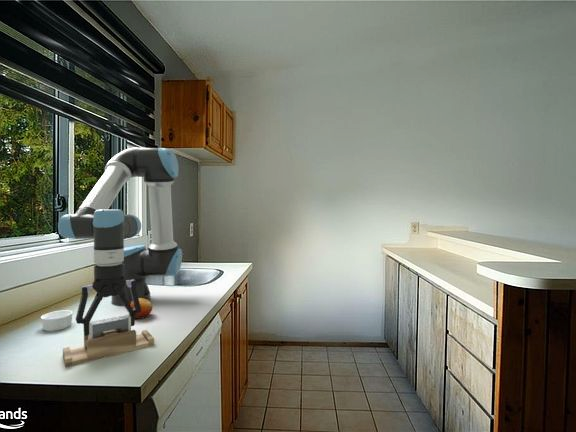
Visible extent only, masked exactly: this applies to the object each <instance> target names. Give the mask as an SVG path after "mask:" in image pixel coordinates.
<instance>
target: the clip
mask: <svg viewBox="0 0 576 432" xmlns="http://www.w3.org/2000/svg"><path fill="white" fill-rule="evenodd" d="M91 322H92V324H93V339H94V338H99V337H101V332H104V331H109V330H114V329H119V333H122V332H126V331H128V317H127V316H126V314H125V315H121V316H116V317H115V316H114V317H110V318H103V319H98V320H93V321H92V320H91Z"/></svg>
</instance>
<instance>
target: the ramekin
mask: <svg viewBox="0 0 576 432" xmlns="http://www.w3.org/2000/svg"><path fill="white" fill-rule="evenodd" d="M40 320H41V326H42V329H43V331H45V330H46V332H53V331H54V332H55V330H56V331H60V330H64V329H67V328H69V327H70V326H71V325H72V321H73V311H72V310H69V309H65V310H64V309H62V310H61V309H60V310H53V311H51V312H48V313H44V314H42V315H41V316H40Z"/></svg>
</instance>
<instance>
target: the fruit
mask: <svg viewBox="0 0 576 432" xmlns="http://www.w3.org/2000/svg"><path fill="white" fill-rule="evenodd" d="M138 299H139V303H140V306H141V312H138V313H136V315H135V319H147V318H148V317H149V316H150V315H151V313H152V311H153V308H154V306H153V305H152V302H151V301H149V300H147V299H144V298H138ZM130 306H131V307H132V309H134V308H135V307H134V303H133V301H132V302H131V304H130Z"/></svg>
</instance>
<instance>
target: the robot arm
mask: <svg viewBox="0 0 576 432" xmlns="http://www.w3.org/2000/svg"><path fill="white" fill-rule="evenodd" d="M178 162H179V161H178V158H177V156H176V154H175V152H174V151H173V150H172V149H170V148H164V147H131V148H126V149H123V150H121V151H120V152H119V153H117V154H115V155H114V156H113V157H111V159H110V160H108V162H107V163H106V165H105V167H104V173H103V174H102V175H101V177H100V178H99V180H98V181H97V182H96V183H95V185H94V187H93V188H92V189H91V191H90V192H89V193H88V195H87V196H86V197H85V199H84V200H83V201H82V203H81V205H80V206H79V207H78V209H77V210H76V211H75V213H73V214H72V213H69V214H64V215H62V216H61V217H60V218H59V220H58V222H57V229H58V230H57V231H58V232H59V234H60V235H61V237H63V238H65V239H73V240H74V239H75V240H81V239H82V240H83V239H84V240H86V239H87V240H88V239H89V240H92V239H93V263H94V264H95V265H94V267H93V282H92V284H89V285H84V284H83V285H81V287H80V290H81V297H80V301H79V303H78V308H77V311H76V316H75V322H76V324H78V325H79V324H82V325H83V336H84V335H85V336H87V335H88V340H89V339H93V324H92V319H93V316H94V314H95V312H96V311H97V308H99V305H100V303H101V302H102V300H103V298H108V297H111V304H113V305H116V306H124V307H125V309H126V311H127V312H128V314H127V313H126V314H125V315H126V316H127V317H128V331H131V330H132V327H134V326H135V324H136V322H135V319H136V318H135V315H136V313H138V312H141V306H140V303H139V299H138V298H144V299H147V300H148V301H149V300H150V299H151V292H150V288H149V286H148V283H147V277H174V276H176V275H178V273H179V271H180V269H181V266H182V262H183V261H182V260H183V250H182V249H181V248H178V243H177V242H176V241H174V230H173V228H174V227H173V224H174V223H173V209H172V208H173V206H172V185H173V184H174V183H175V179H176V178H177V177H178V176H179V163H178ZM135 177H136V178H137V177H139V178H143V182H144V183H145V184H146V185H147V186H148V200H149V201H148V203H149V216H150V217H149V218H150V232H151V235H150V236H151V243H150V244H149V245H148V248H147V246H146V244H143V245H141V244H138V245H133V246H126V247H125V240H126V239H131V238H134V237H135V236H137V235H138V234H139V233H140V232H141V230H142V222H141V220H140V218H138V216H136V215H135V214H126V213H125V214H124V212H123V210H122V209H117V208H116V209H115V208H114V209H113V208H111V206H112V204H113V202H114V201H115V199H116V197H117V196H118V194H119V193H120V192H121V189H122V188H123V186H124V185H125V183H127V182H130V180H131V179H132V178H135ZM109 208H110V209H109ZM92 290H94V291H95V292H96V294H95V296H94V299H93V301H92V302H91V304H90V306H89V308H88V310H87V312H86V314H85V310H86V305H87V301H88V297H89V294H90V293H91V292H92ZM132 301H133V303H134V307H135V308H134V309H132V307H131V306H130V304H131V302H132ZM84 314H85V316H84Z"/></svg>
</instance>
